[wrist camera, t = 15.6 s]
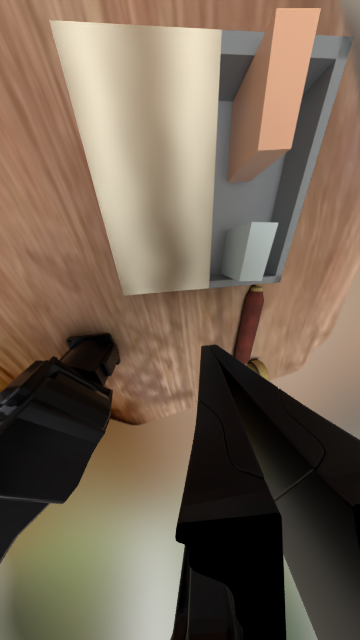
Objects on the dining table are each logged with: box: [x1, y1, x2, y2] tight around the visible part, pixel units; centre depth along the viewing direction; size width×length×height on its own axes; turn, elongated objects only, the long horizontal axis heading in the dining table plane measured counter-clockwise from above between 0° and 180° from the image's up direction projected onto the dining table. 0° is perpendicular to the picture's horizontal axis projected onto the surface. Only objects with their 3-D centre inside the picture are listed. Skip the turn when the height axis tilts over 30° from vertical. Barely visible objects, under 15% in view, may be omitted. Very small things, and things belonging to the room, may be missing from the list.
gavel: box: [235, 284, 269, 381], centre depth 23 cm, size 21×5×10 cm
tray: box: [209, 30, 353, 288], centre depth 14 cm, size 9×16×4 cm, turn 3°
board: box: [49, 20, 222, 296], centre depth 13 cm, size 10×16×4 cm, turn 3°
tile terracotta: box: [228, 8, 321, 183], centre depth 10 cm, size 5×5×2 cm
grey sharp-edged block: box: [221, 222, 278, 281], centre depth 15 cm, size 5×5×2 cm
